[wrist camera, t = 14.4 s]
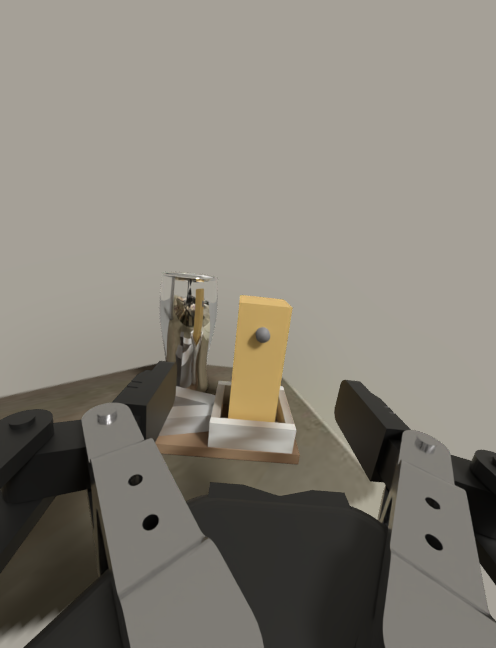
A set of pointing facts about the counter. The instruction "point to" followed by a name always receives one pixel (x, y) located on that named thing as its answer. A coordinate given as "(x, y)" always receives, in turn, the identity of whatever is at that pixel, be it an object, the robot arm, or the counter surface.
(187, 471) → the counter surface
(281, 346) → the yellow knobbed block
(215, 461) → the counter surface
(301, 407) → the counter surface
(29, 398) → the counter surface
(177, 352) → the beer glass
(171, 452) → the coupling board
